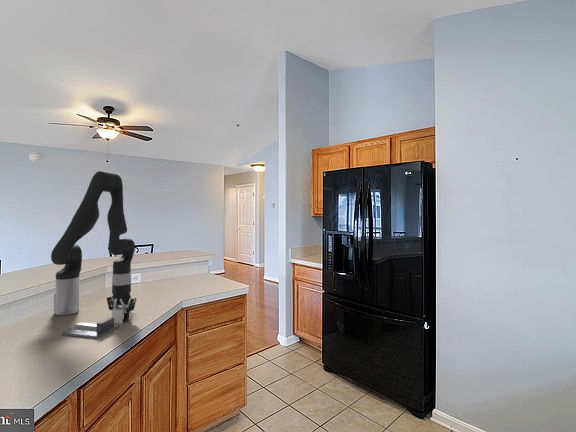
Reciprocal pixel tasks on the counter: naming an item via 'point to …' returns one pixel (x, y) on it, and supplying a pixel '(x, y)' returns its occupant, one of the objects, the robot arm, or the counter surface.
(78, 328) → the rail plate
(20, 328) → the counter surface
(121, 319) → the block
